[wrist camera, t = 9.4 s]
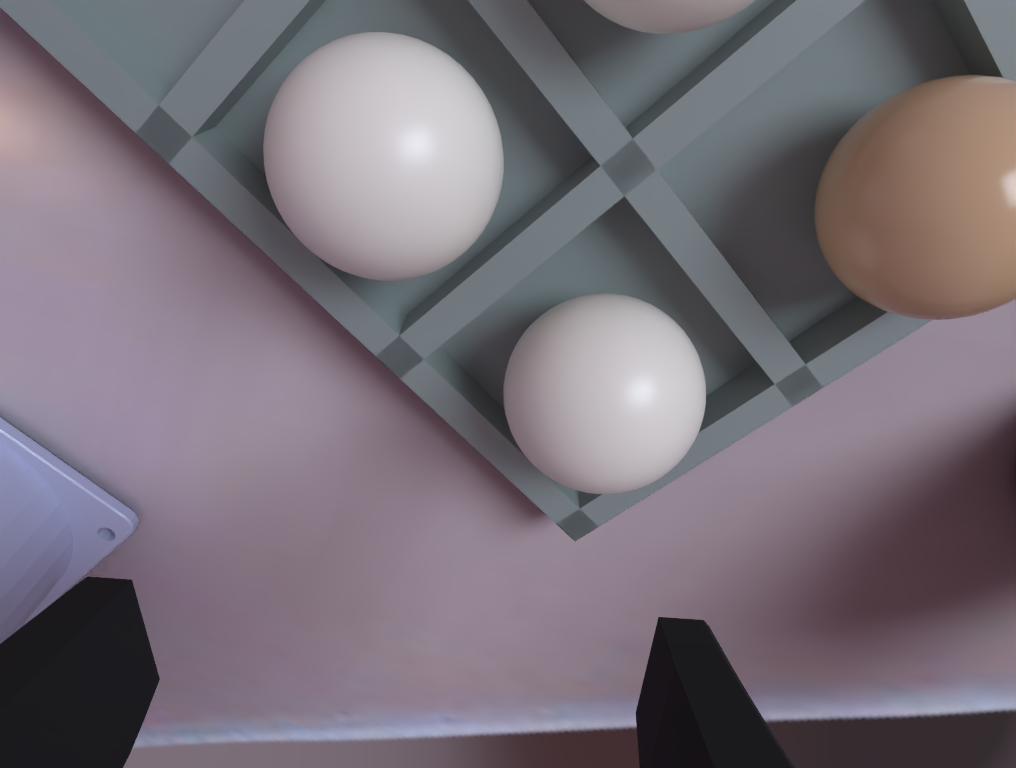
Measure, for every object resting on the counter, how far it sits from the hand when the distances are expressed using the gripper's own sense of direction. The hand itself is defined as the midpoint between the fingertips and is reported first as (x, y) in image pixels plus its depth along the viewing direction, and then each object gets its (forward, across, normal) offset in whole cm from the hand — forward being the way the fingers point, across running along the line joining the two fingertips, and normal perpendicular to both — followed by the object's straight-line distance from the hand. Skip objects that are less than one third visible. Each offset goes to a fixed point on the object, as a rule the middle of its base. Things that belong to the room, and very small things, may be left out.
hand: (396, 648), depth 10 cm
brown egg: (+9, -8, -5) cm, 13 cm away
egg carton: (+9, -1, -7) cm, 12 cm away
